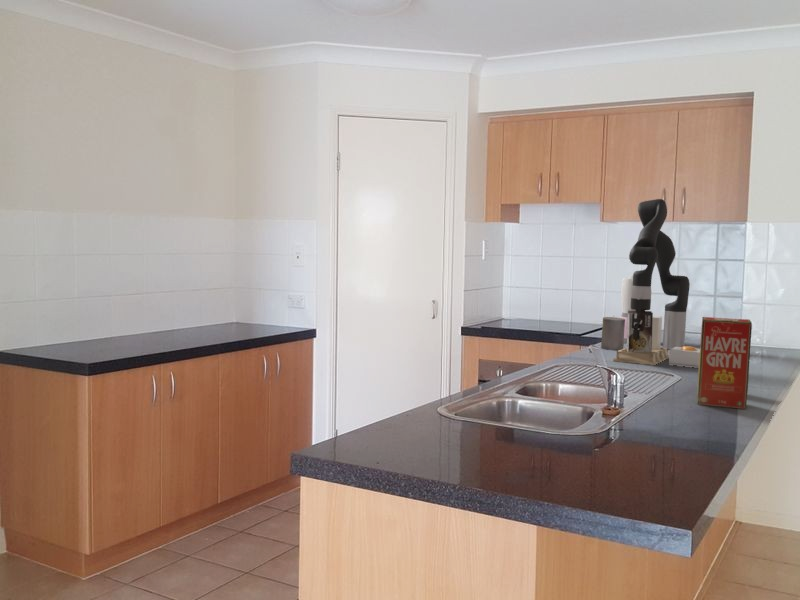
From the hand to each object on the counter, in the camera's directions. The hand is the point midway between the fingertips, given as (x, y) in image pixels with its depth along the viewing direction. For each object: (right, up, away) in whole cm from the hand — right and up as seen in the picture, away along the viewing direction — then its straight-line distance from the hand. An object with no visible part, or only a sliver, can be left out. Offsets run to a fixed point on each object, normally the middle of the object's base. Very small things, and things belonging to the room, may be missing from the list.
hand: (638, 338), depth 299 cm
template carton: (+8, -8, +13) cm, 18 cm away
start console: (+18, -10, -4) cm, 21 cm away
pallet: (+4, -9, +7) cm, 12 cm away
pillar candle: (0, -7, +37) cm, 38 cm away
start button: (+18, -8, -4) cm, 20 cm away
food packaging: (-1, -15, -79) cm, 80 cm away
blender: (+16, -5, +64) cm, 66 cm away
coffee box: (0, -6, +1) cm, 6 cm away
